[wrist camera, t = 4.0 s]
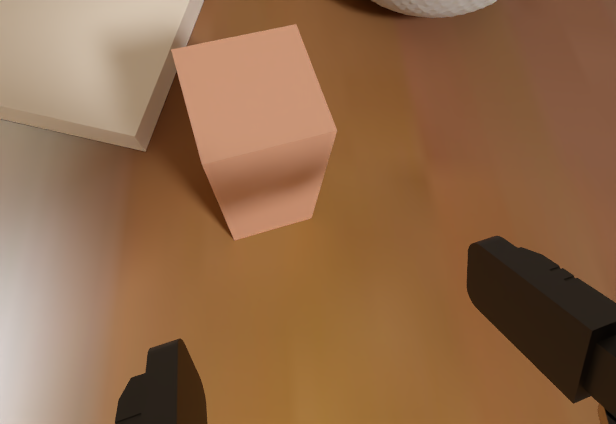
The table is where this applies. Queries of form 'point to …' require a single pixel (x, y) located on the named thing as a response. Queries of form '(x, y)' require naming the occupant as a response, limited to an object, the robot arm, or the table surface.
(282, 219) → the terracotta block
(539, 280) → the robot arm
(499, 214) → the table surface
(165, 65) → the off-white board
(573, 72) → the table surface
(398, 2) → the cereal bowl
